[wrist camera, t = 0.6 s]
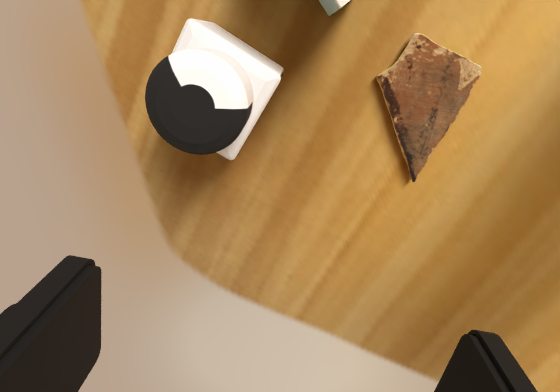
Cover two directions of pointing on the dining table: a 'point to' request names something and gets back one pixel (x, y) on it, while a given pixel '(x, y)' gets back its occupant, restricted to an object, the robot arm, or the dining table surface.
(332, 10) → the slab
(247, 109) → the medicine bottle
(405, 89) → the shard
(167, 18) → the dining table surface
